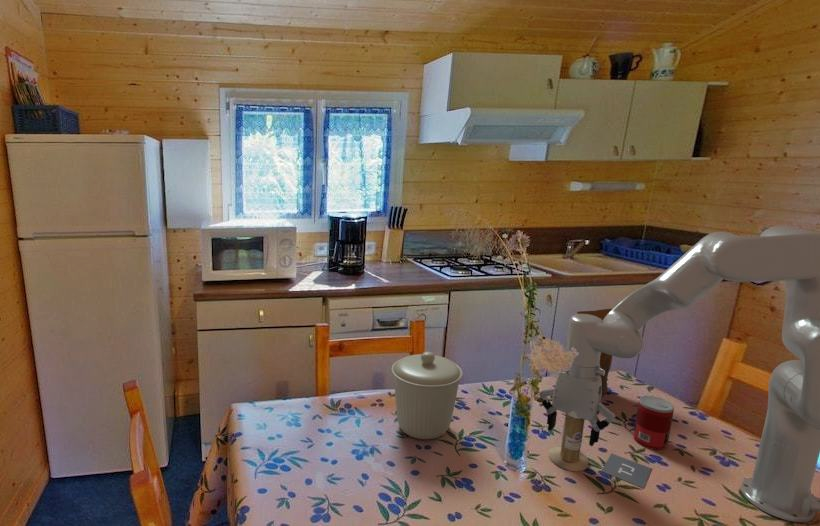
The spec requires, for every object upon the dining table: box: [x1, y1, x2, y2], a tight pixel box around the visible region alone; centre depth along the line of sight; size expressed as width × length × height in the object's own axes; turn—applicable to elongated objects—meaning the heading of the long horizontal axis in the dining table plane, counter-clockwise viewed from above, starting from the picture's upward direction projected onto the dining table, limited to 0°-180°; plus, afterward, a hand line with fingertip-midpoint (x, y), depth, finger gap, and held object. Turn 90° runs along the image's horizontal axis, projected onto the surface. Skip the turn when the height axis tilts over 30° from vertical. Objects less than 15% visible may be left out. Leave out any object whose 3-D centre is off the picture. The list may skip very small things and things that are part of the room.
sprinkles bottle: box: [560, 411, 585, 463], centre depth 111 cm, size 5×5×13 cm
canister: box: [390, 351, 464, 440], centre depth 120 cm, size 18×18×21 cm
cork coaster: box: [548, 445, 589, 472], centre depth 112 cm, size 9×9×1 cm
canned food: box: [633, 395, 675, 451], centre depth 120 cm, size 8×8×11 cm
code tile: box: [601, 452, 652, 489], centre depth 109 cm, size 9×9×1 cm
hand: (571, 435), depth 111 cm, fingers open, 9 cm apart
